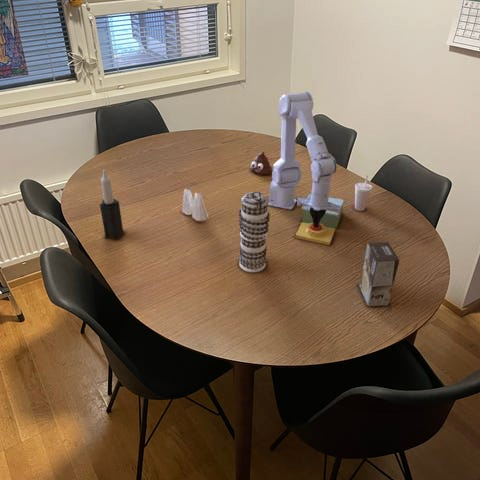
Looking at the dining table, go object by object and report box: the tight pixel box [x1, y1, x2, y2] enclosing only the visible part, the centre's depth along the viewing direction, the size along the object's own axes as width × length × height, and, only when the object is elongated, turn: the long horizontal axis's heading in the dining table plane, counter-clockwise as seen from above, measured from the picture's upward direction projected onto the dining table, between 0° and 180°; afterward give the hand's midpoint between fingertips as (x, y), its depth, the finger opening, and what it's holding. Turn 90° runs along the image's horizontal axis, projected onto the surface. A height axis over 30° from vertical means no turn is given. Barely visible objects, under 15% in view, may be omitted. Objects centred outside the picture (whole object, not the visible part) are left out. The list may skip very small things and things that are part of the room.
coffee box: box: [359, 241, 400, 307], centre depth 132 cm, size 9×6×16 cm
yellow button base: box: [295, 222, 336, 246], centre depth 162 cm, size 12×9×3 cm
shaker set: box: [181, 188, 210, 223], centre depth 168 cm, size 12×4×11 cm, turn 40°
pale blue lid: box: [301, 193, 345, 216], centre depth 169 cm, size 13×11×1 cm
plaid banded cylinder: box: [238, 191, 271, 273], centre depth 141 cm, size 9×9×25 cm
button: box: [311, 224, 322, 231], centre depth 161 cm, size 4×4×2 cm
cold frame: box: [301, 203, 344, 230], centre depth 170 cm, size 12×11×5 cm
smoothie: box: [354, 175, 373, 212], centre depth 174 cm, size 6×6×14 cm
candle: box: [99, 169, 124, 241], centre depth 154 cm, size 5×5×25 cm
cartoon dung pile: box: [249, 151, 273, 176], centre depth 201 cm, size 10×8×9 cm
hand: (316, 226), depth 160 cm, fingers closed, pressing on button
